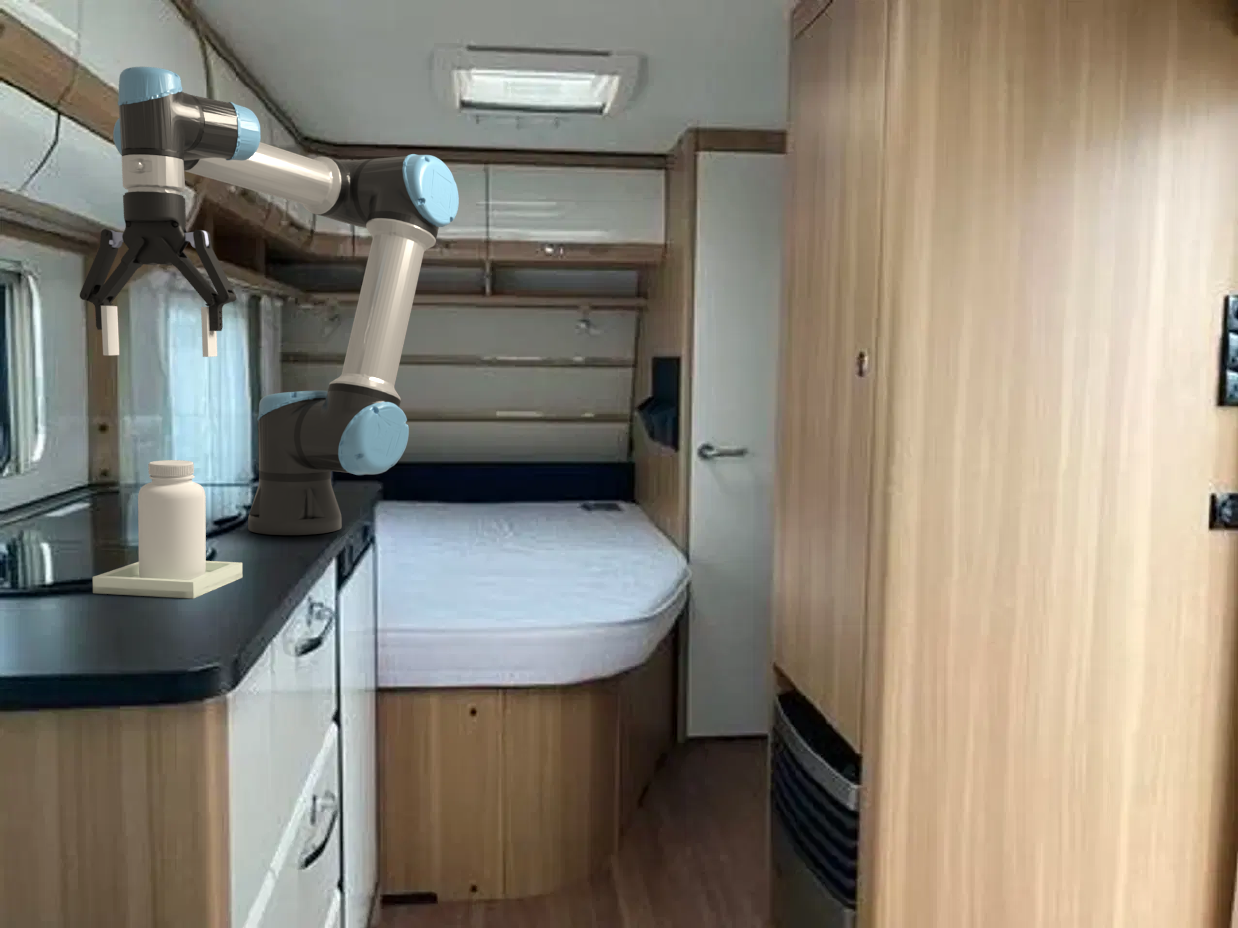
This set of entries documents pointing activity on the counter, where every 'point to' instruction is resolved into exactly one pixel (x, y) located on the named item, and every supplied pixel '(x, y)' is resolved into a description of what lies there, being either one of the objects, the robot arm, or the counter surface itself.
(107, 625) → the counter surface
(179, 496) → the pill bottle
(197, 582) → the tray
